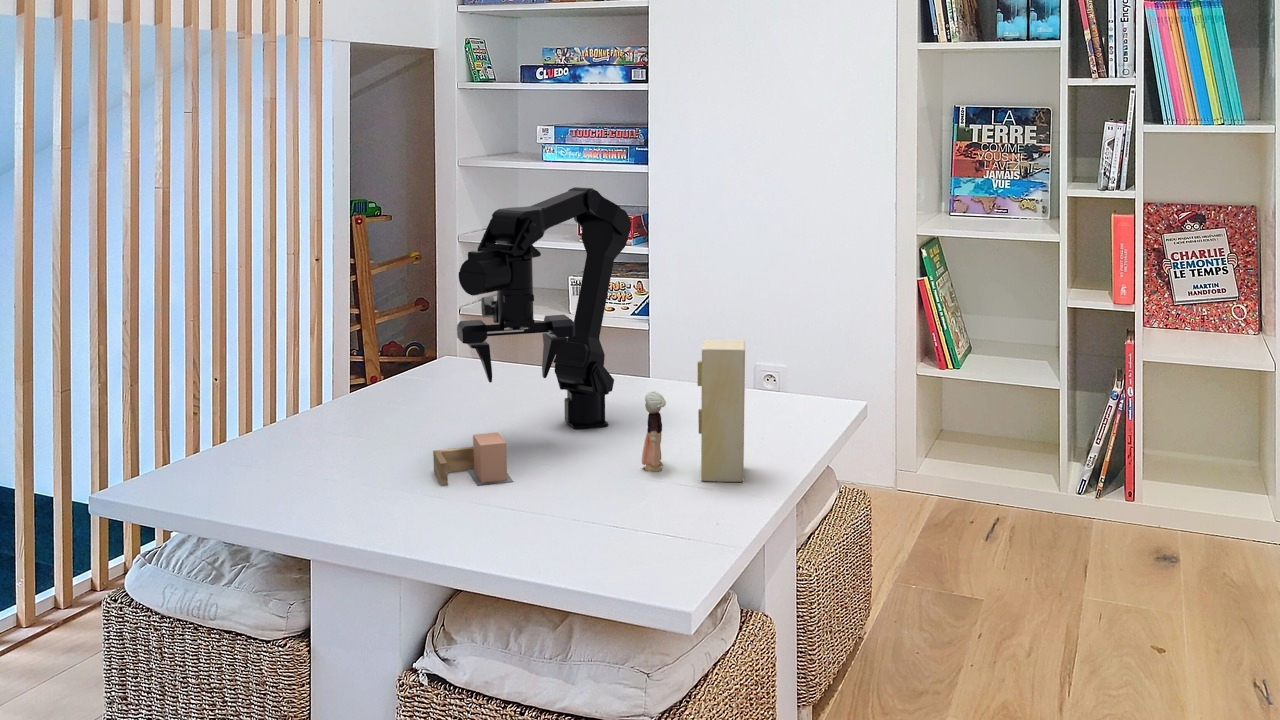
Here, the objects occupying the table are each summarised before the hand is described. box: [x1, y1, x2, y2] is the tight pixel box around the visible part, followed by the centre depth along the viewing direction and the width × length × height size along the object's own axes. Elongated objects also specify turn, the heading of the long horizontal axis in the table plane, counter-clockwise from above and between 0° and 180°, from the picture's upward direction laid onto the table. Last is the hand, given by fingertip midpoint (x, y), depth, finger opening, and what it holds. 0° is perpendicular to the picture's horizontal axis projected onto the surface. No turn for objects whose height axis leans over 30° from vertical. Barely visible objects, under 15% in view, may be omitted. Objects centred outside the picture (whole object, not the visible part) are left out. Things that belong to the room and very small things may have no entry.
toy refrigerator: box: [697, 338, 746, 483], centre depth 183 cm, size 8×7×21 cm
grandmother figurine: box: [641, 390, 667, 473], centre depth 187 cm, size 8×4×13 cm, turn 5°
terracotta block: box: [472, 431, 508, 483], centre depth 183 cm, size 6×4×6 cm, turn 19°
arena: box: [432, 446, 514, 487], centre depth 184 cm, size 12×9×4 cm
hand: (517, 379), depth 195 cm, fingers open, 9 cm apart
